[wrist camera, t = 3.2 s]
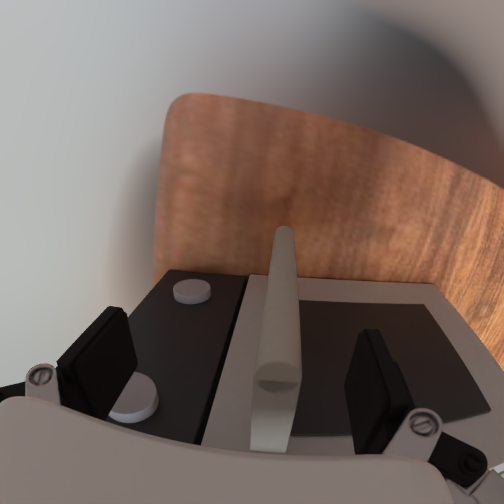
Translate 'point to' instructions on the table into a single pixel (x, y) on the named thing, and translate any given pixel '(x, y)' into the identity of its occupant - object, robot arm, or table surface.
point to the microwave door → (346, 363)
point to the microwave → (179, 354)
